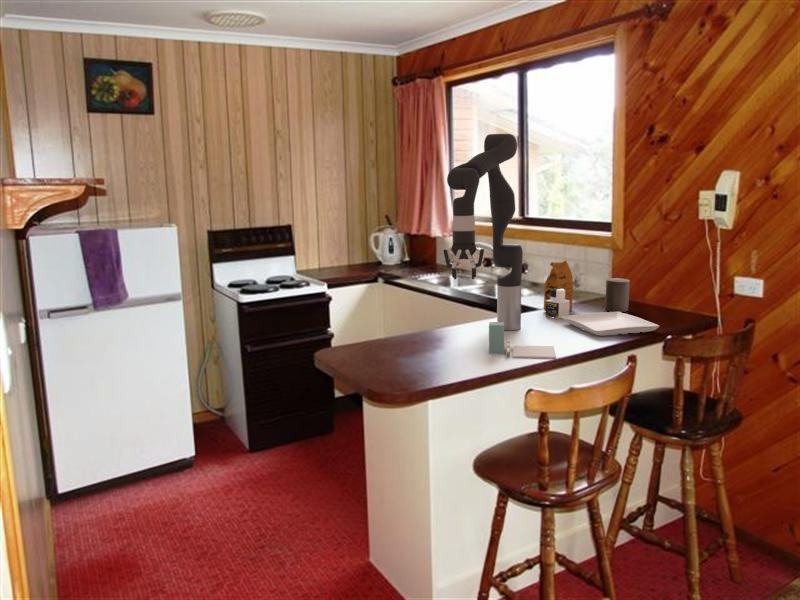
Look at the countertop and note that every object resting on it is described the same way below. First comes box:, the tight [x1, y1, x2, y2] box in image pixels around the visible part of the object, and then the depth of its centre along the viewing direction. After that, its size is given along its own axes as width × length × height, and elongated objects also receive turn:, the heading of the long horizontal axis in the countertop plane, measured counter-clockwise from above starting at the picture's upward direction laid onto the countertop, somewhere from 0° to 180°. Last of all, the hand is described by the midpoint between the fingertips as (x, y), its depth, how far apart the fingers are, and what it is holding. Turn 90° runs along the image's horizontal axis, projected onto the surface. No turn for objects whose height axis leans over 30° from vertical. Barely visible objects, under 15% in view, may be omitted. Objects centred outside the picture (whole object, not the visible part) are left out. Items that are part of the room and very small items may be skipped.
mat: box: [512, 344, 557, 360], centre depth 228 cm, size 14×14×1 cm
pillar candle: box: [604, 276, 631, 313], centre depth 290 cm, size 10×10×15 cm
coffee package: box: [543, 259, 574, 312], centre depth 292 cm, size 10×12×22 cm
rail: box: [506, 341, 511, 359], centre depth 230 cm, size 14×1×2 cm, turn 171°
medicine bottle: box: [545, 288, 570, 319], centre depth 282 cm, size 7×7×12 cm
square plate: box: [561, 311, 660, 337], centre depth 260 cm, size 27×27×4 cm
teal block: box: [488, 321, 505, 355], centre depth 229 cm, size 5×5×10 cm
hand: (464, 278), depth 227 cm, fingers open, 5 cm apart
